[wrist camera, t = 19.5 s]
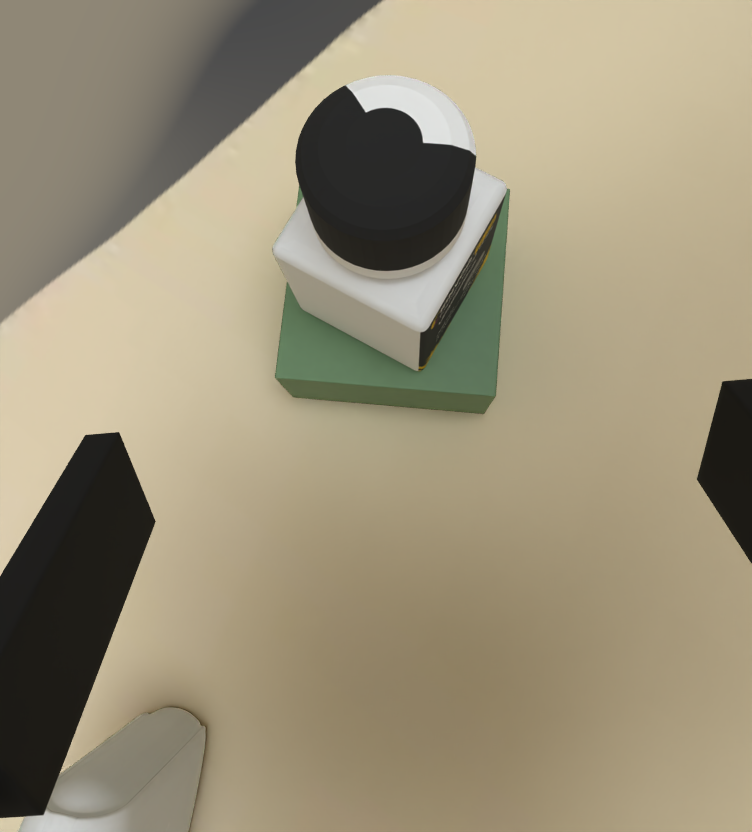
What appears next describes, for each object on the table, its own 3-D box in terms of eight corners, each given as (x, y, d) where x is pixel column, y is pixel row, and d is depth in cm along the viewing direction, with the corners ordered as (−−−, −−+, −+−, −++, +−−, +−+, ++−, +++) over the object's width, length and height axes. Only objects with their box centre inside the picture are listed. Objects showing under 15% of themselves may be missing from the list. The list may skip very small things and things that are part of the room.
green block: (496, 232, 38) (510, 188, 33) (484, 414, 36) (495, 396, 31) (314, 220, 38) (300, 175, 33) (292, 397, 37) (274, 377, 32)
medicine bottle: (421, 375, 31) (427, 285, 19) (298, 309, 32) (232, 185, 20) (489, 255, 32) (535, 100, 20) (368, 194, 33) (344, 11, 21)
